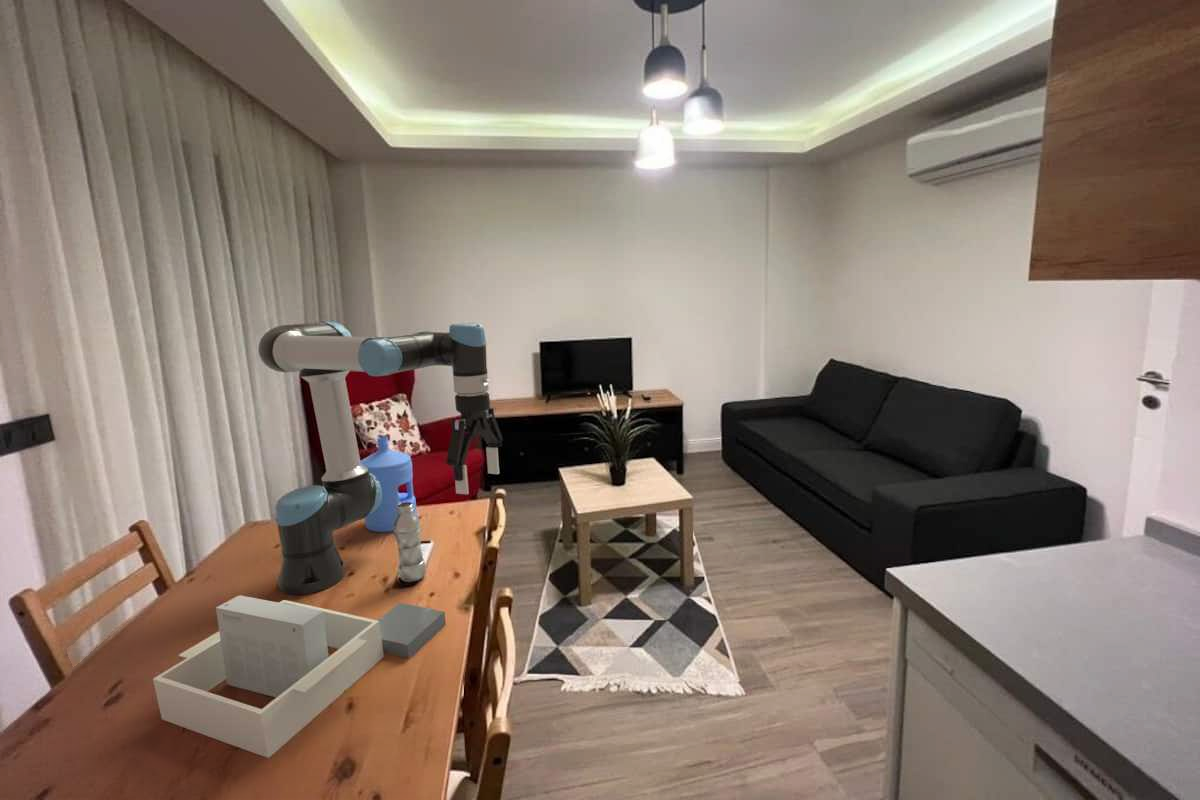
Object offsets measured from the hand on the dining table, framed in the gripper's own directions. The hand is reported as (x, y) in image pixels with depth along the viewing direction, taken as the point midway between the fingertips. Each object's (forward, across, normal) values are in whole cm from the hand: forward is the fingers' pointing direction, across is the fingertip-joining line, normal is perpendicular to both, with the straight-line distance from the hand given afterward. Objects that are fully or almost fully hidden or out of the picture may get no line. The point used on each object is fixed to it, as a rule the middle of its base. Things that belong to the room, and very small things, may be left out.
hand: (478, 483), depth 128 cm
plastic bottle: (+28, 0, +21) cm, 35 cm away
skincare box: (+28, -40, +20) cm, 53 cm away
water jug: (+28, +28, +51) cm, 64 cm away
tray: (+28, -40, +20) cm, 53 cm away
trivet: (+28, -20, +8) cm, 35 cm away
